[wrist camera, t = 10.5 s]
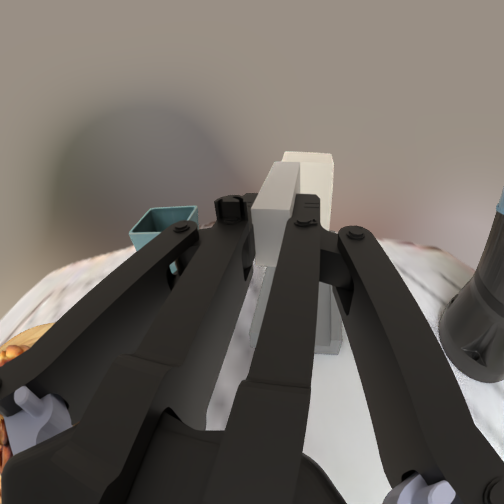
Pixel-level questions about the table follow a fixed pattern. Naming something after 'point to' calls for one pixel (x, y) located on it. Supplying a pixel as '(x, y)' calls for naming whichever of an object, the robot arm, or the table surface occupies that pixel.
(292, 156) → the cream block
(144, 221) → the flower pot
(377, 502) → the table surface
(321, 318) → the grey chute
